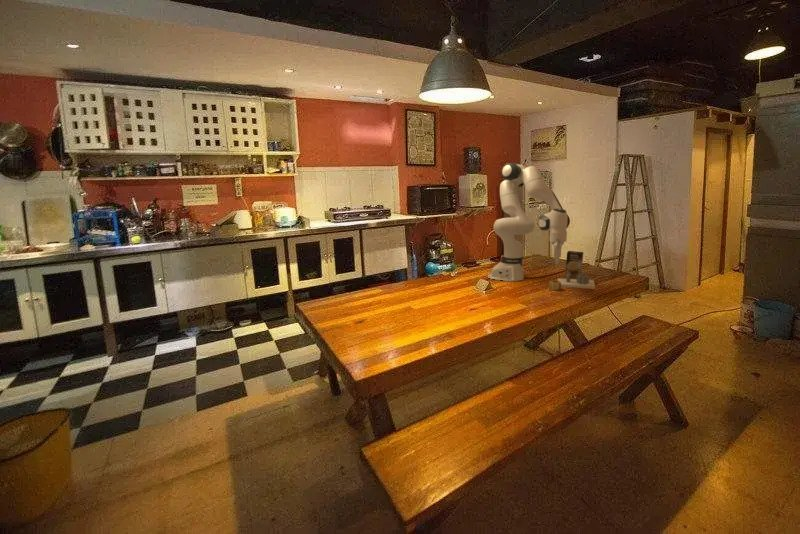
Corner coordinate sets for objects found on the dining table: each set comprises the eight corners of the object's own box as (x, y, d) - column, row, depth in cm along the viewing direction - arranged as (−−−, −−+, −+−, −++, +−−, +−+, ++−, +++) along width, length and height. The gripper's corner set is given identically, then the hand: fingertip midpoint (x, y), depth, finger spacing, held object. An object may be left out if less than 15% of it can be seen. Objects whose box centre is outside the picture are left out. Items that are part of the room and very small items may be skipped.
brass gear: (551, 291, 224) (551, 283, 223) (547, 287, 230) (547, 280, 229) (562, 290, 224) (563, 283, 223) (558, 287, 230) (558, 280, 229)
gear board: (557, 286, 233) (557, 274, 231) (557, 280, 244) (558, 269, 243) (594, 288, 225) (595, 277, 223) (593, 282, 237) (594, 271, 235)
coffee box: (564, 277, 251) (566, 252, 247) (566, 274, 256) (568, 250, 252) (580, 278, 246) (582, 253, 242) (581, 276, 251) (583, 251, 248)
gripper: (564, 241, 210) (562, 266, 212) (564, 235, 228) (562, 259, 231) (551, 240, 212) (550, 266, 215) (552, 235, 230) (551, 258, 233)
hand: (556, 262), depth 223 cm, fingers open, 8 cm apart
